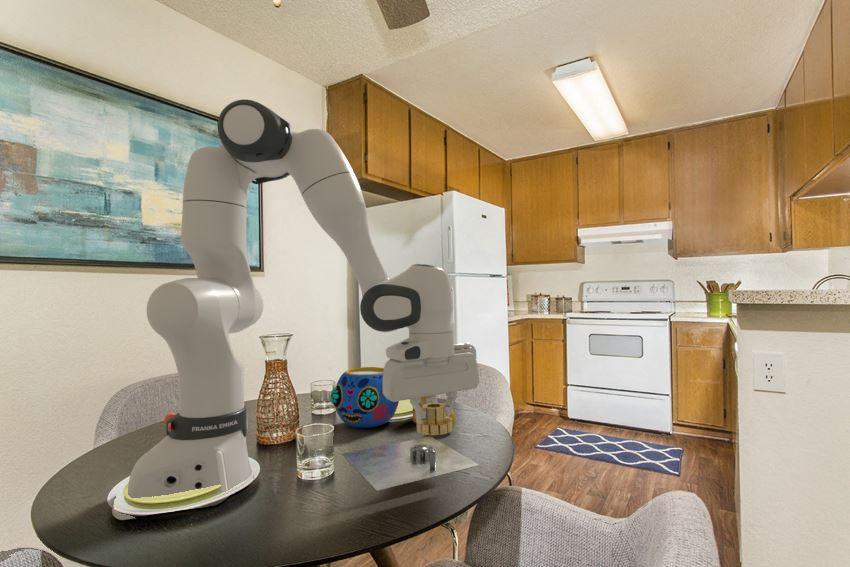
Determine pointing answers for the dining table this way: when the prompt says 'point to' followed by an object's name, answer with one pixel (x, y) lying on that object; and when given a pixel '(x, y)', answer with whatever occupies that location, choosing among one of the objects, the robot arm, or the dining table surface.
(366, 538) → the dining table surface
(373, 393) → the ceramic pot
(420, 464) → the plate
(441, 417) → the gear
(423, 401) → the supplement bottle
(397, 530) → the dining table surface
